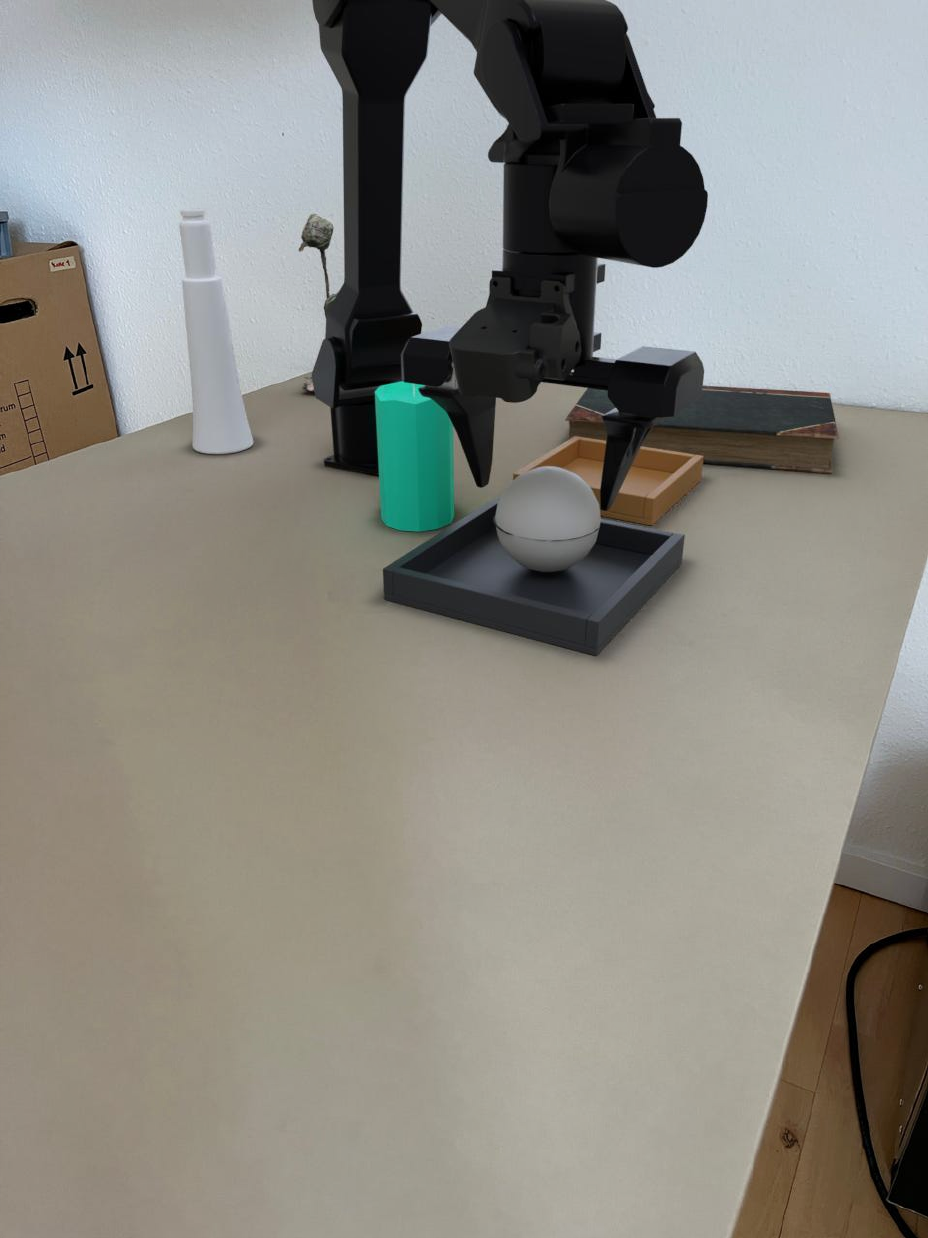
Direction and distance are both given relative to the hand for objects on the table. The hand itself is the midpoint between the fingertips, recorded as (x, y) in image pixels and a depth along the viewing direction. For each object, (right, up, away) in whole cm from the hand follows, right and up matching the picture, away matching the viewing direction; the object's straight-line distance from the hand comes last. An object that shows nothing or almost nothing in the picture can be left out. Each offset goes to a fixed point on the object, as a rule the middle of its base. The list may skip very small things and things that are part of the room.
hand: (542, 497), depth 63 cm
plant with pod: (-20, +20, +52) cm, 59 cm away
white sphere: (0, -5, +3) cm, 6 cm away
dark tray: (0, -6, +3) cm, 6 cm away
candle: (-9, 0, +14) cm, 17 cm away
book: (+19, +10, +33) cm, 40 cm away
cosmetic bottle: (-30, +9, +32) cm, 45 cm away
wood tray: (+7, +3, +20) cm, 21 cm away
